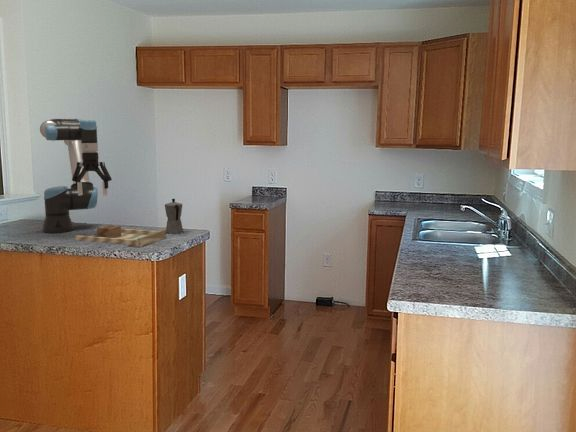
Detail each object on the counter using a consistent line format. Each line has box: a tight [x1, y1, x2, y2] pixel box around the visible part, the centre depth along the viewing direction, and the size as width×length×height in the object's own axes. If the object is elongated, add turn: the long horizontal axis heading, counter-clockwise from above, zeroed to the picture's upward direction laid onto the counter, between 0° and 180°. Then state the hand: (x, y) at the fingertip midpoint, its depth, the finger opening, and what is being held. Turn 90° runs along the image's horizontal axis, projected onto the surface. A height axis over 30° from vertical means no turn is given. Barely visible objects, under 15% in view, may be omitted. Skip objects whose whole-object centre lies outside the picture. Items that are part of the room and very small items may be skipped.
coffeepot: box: [164, 198, 184, 235], centre depth 279 cm, size 15×9×18 cm, turn 25°
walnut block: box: [96, 224, 122, 238], centre depth 264 cm, size 8×8×5 cm
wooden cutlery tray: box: [74, 228, 167, 248], centre depth 262 cm, size 36×23×4 cm, turn 73°
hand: (92, 195), depth 263 cm, fingers open, 13 cm apart
